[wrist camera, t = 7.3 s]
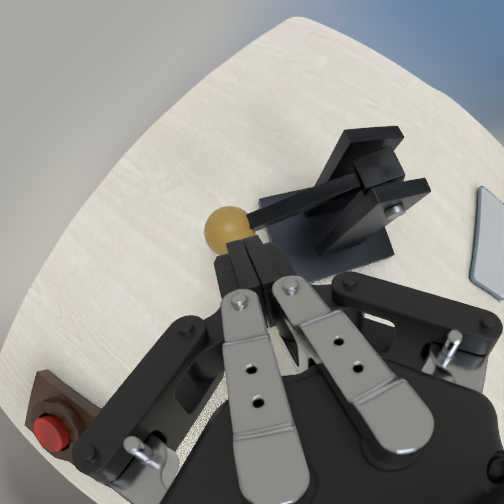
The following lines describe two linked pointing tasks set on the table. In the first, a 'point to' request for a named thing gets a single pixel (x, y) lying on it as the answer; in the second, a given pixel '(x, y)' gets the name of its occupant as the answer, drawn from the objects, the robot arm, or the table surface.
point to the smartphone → (489, 245)
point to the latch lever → (303, 199)
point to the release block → (60, 409)
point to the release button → (51, 433)
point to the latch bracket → (346, 213)
